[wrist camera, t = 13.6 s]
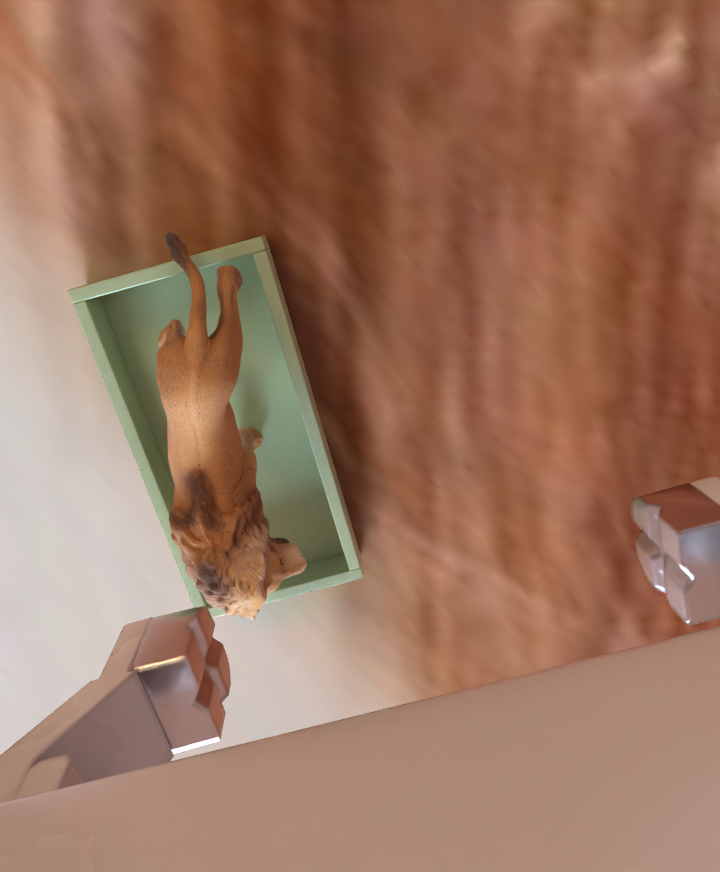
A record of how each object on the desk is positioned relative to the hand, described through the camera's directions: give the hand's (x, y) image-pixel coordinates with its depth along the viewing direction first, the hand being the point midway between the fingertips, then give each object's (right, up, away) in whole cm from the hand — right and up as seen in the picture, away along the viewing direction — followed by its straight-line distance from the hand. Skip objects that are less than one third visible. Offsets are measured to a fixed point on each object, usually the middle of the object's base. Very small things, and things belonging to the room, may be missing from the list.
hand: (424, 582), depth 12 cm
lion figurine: (-8, +5, +19) cm, 21 cm away
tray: (-8, +3, +21) cm, 22 cm away
